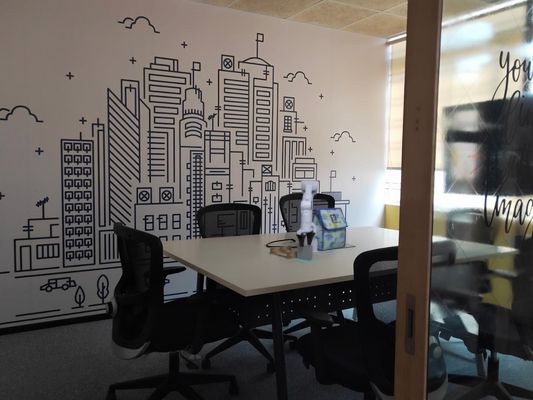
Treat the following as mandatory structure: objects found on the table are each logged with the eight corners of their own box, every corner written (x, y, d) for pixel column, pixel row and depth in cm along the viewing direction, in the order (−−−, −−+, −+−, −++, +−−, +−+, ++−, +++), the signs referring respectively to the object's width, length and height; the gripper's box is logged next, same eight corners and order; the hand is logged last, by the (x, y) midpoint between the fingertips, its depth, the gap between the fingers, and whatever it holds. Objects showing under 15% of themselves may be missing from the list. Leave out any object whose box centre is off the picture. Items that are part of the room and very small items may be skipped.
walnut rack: (290, 251, 271) (290, 245, 270) (308, 256, 258) (308, 249, 258) (270, 254, 261) (270, 247, 260) (288, 259, 248) (288, 252, 248)
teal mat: (307, 257, 255) (307, 256, 255) (318, 260, 248) (318, 259, 248) (291, 260, 247) (291, 259, 247) (302, 263, 240) (302, 262, 240)
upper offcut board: (291, 252, 267) (291, 250, 267) (303, 255, 260) (303, 253, 259) (286, 253, 264) (286, 251, 264) (298, 255, 257) (298, 253, 257)
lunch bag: (325, 252, 272) (326, 210, 270) (306, 247, 285) (307, 207, 283) (348, 248, 286) (350, 208, 284) (329, 244, 299) (330, 206, 297)
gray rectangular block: (300, 257, 252) (300, 243, 251) (312, 259, 247) (312, 245, 246) (296, 258, 249) (297, 244, 248) (308, 260, 244) (309, 246, 243)
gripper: (307, 219, 254) (306, 243, 255) (292, 222, 243) (292, 246, 244) (317, 221, 250) (317, 244, 251) (303, 223, 238) (302, 248, 239)
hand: (305, 245), depth 247 cm, fingers open, 7 cm apart
